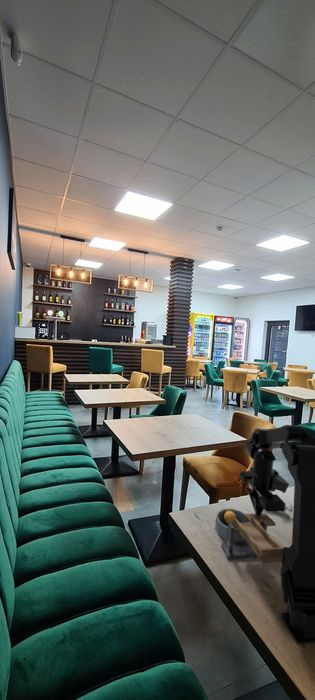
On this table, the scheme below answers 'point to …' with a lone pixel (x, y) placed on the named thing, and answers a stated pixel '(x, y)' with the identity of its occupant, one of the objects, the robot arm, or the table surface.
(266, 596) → the table surface
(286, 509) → the soldier figure
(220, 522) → the cup
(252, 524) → the lever
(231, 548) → the lever stand
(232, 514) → the ball
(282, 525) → the table surface
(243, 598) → the table surface
